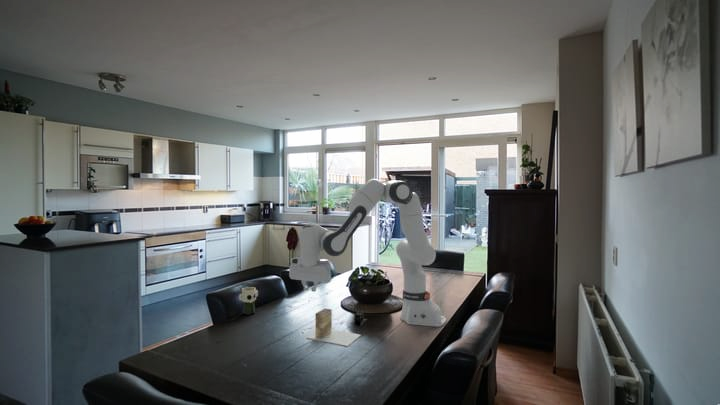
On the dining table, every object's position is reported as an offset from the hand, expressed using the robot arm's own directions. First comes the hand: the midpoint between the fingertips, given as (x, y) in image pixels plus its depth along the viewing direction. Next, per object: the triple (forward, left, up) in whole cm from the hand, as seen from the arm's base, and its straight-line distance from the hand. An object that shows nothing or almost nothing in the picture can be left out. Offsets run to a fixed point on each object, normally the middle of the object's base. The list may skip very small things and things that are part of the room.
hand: (310, 290), depth 167 cm
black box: (-14, -23, -20) cm, 33 cm away
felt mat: (-12, -1, -19) cm, 23 cm away
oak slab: (-7, 0, -19) cm, 20 cm away
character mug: (+43, -9, -19) cm, 48 cm away
